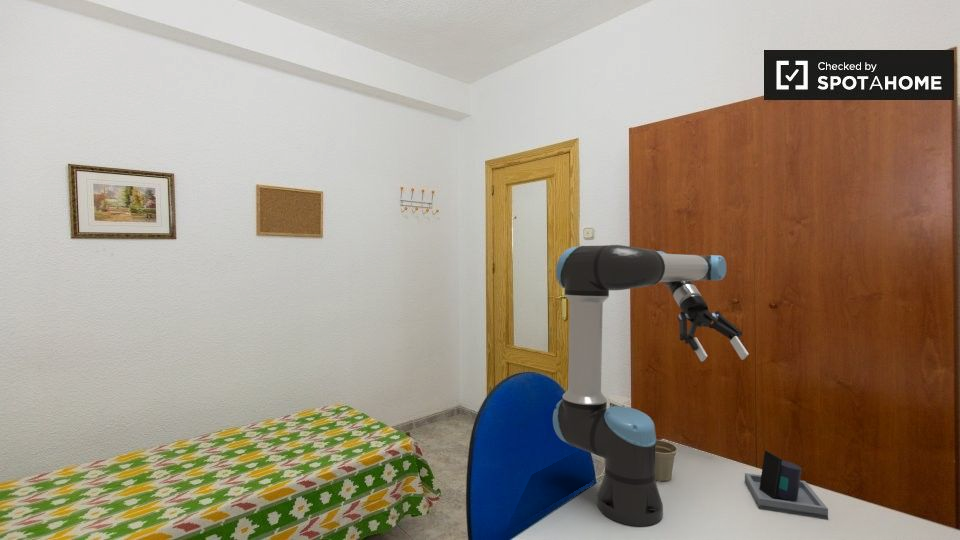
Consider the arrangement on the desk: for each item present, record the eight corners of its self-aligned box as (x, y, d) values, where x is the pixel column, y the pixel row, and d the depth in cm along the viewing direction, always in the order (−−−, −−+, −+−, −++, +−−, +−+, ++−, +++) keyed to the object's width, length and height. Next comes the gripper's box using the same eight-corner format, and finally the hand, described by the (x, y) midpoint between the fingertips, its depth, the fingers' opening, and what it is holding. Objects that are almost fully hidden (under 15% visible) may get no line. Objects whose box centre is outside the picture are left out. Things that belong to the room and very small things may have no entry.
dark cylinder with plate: (767, 499, 109) (771, 457, 109) (758, 489, 115) (762, 449, 115) (802, 507, 107) (806, 464, 107) (792, 496, 113) (796, 455, 113)
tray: (759, 508, 107) (759, 498, 107) (744, 482, 120) (744, 473, 120) (827, 519, 103) (828, 508, 103) (805, 490, 116) (805, 481, 116)
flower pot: (681, 486, 118) (681, 454, 118) (644, 482, 120) (644, 451, 120) (673, 470, 127) (673, 440, 127) (639, 467, 129) (639, 438, 129)
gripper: (718, 308, 147) (754, 363, 132) (650, 310, 142) (680, 366, 127) (730, 293, 141) (769, 348, 127) (660, 294, 137) (692, 352, 122)
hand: (725, 358), depth 127 cm, fingers open, 13 cm apart
